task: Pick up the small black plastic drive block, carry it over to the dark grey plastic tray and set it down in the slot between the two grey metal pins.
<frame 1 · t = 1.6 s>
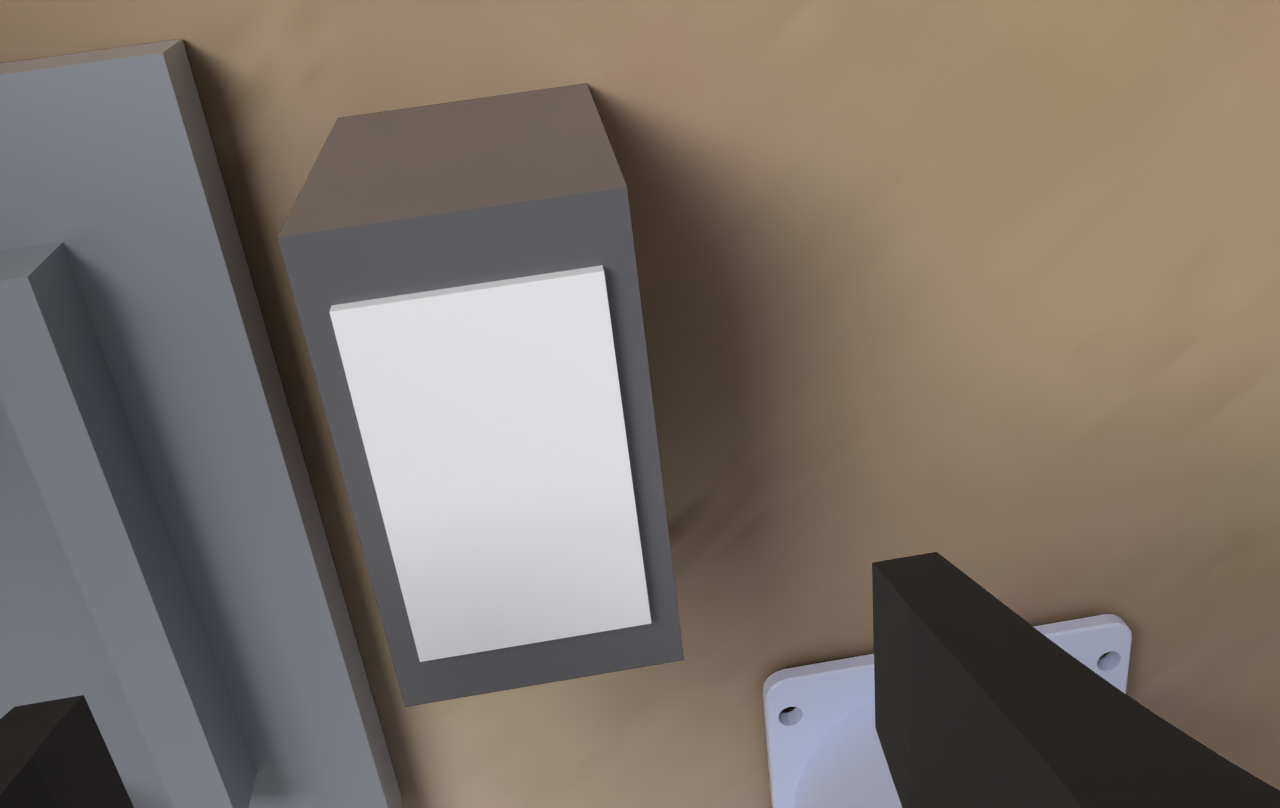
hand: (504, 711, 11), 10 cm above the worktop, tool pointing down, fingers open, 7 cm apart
drive: (499, 300, 20), on the worktop
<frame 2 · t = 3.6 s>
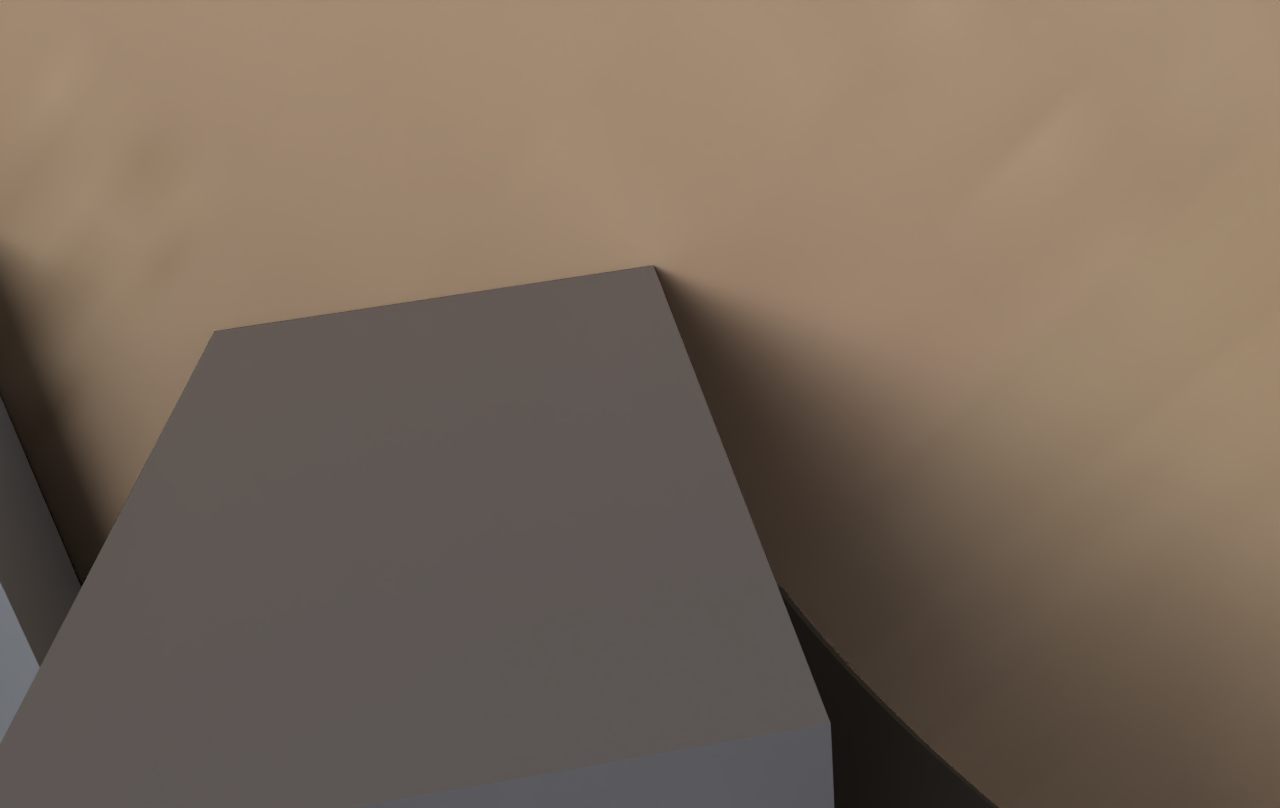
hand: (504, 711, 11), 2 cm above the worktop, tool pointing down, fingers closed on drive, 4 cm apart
drive: (500, 604, 12), on the worktop, touching gripper
when the fingers open (4 cm above the worktop, at t = 7.6 s): drive stays where it is, resting on drive tray.
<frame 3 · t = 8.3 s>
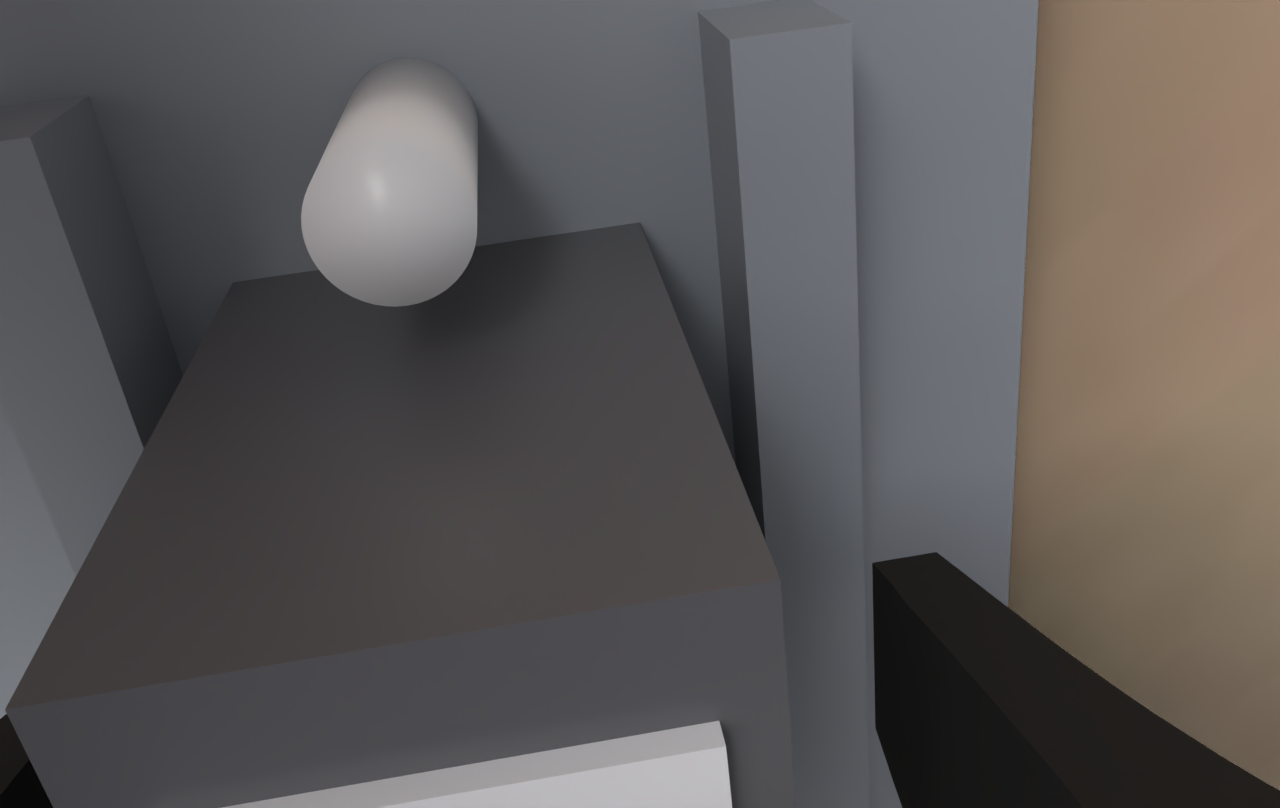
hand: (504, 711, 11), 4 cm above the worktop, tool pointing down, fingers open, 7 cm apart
drive tray: (498, 495, 14), on the worktop
drive: (498, 544, 13), point 1 cm above the worktop, touching drive tray
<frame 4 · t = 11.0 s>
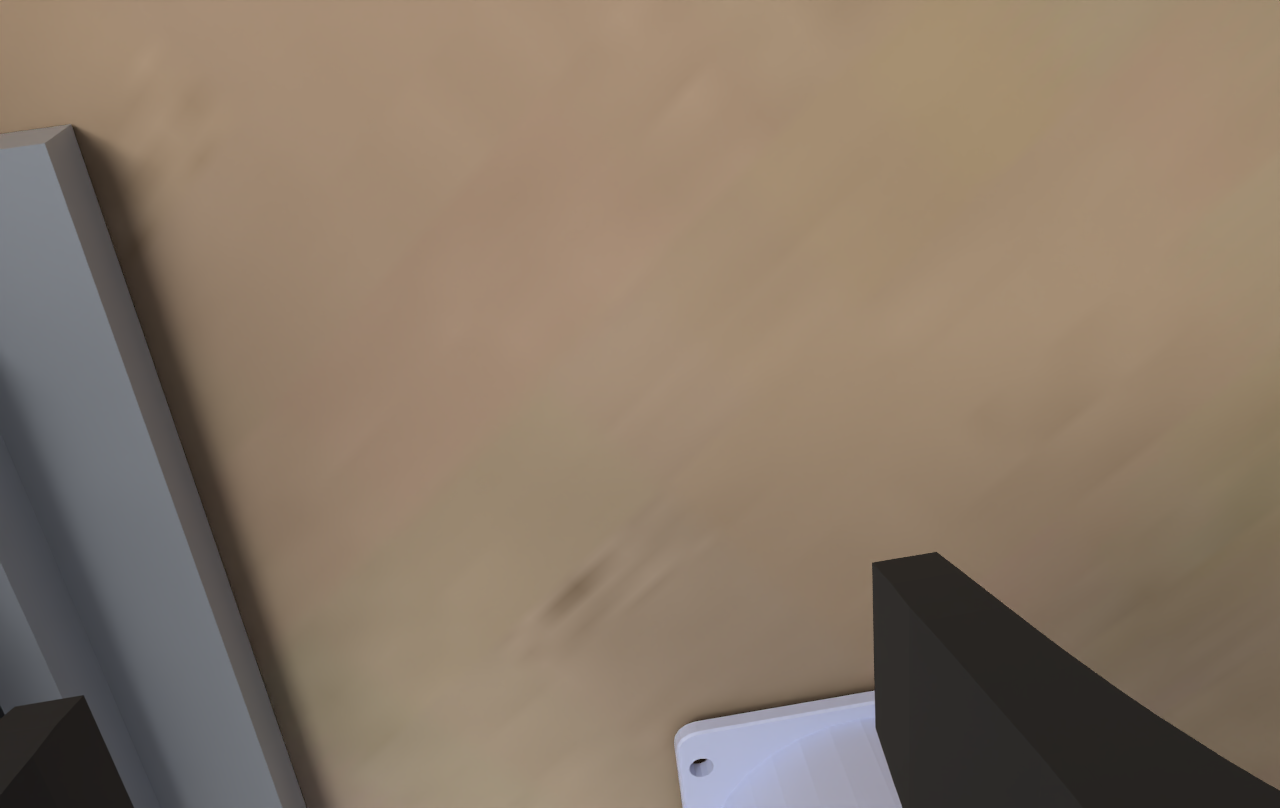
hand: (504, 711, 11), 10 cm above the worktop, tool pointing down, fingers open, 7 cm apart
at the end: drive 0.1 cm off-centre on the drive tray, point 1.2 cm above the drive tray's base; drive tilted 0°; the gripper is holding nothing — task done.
